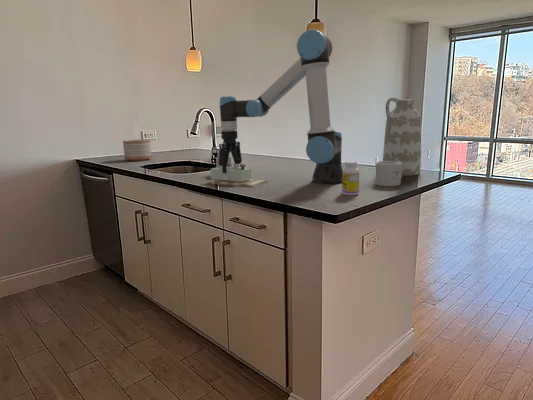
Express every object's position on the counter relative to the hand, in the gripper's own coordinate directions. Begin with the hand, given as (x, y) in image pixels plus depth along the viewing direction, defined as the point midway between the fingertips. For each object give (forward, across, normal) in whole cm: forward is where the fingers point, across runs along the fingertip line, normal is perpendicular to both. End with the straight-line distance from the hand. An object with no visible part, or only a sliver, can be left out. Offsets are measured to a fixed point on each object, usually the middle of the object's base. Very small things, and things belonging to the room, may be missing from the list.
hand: (231, 178), depth 189 cm
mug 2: (+2, -24, +69) cm, 73 cm away
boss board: (+2, 0, +4) cm, 5 cm away
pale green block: (0, 0, 0) cm, 0 cm away
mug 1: (+2, -16, -17) cm, 23 cm away
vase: (+2, -56, +66) cm, 87 cm away
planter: (+2, -51, -122) cm, 133 cm away
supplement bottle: (+2, +3, +60) cm, 60 cm away
